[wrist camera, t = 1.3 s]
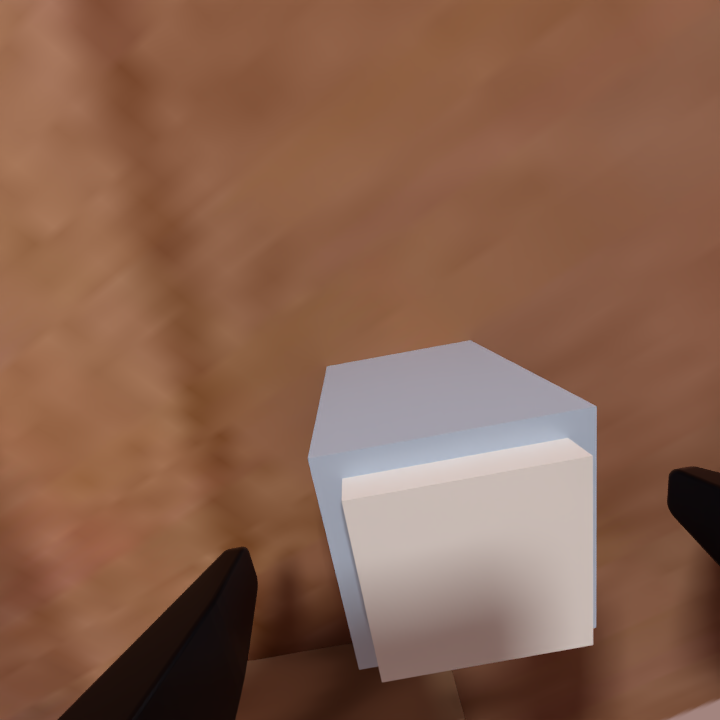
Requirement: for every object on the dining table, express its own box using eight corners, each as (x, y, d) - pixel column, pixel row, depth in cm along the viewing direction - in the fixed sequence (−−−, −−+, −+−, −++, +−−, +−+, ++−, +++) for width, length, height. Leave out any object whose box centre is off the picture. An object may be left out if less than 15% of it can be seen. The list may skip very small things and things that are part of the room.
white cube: (470, 339, 11) (625, 421, 5) (482, 466, 13) (619, 660, 6) (327, 366, 12) (303, 479, 5) (353, 490, 13) (360, 706, 6)
